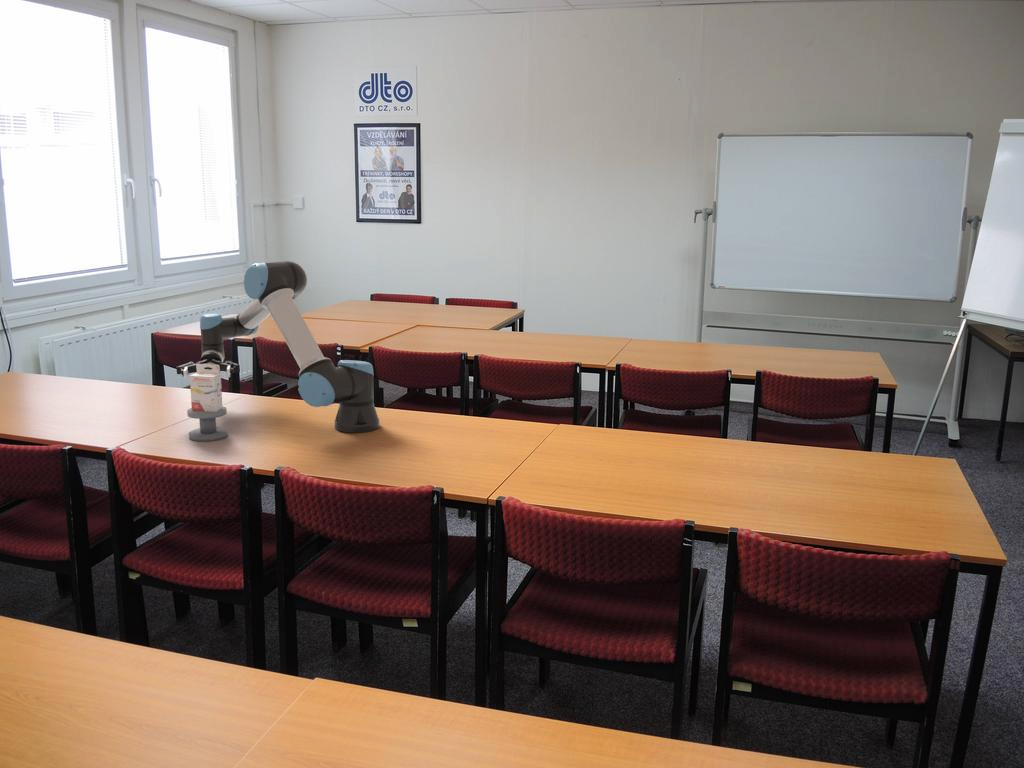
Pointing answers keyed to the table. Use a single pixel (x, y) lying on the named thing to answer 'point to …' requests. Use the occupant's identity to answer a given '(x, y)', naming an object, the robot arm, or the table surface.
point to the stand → (207, 425)
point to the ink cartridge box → (206, 388)
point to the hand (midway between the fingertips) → (206, 374)
